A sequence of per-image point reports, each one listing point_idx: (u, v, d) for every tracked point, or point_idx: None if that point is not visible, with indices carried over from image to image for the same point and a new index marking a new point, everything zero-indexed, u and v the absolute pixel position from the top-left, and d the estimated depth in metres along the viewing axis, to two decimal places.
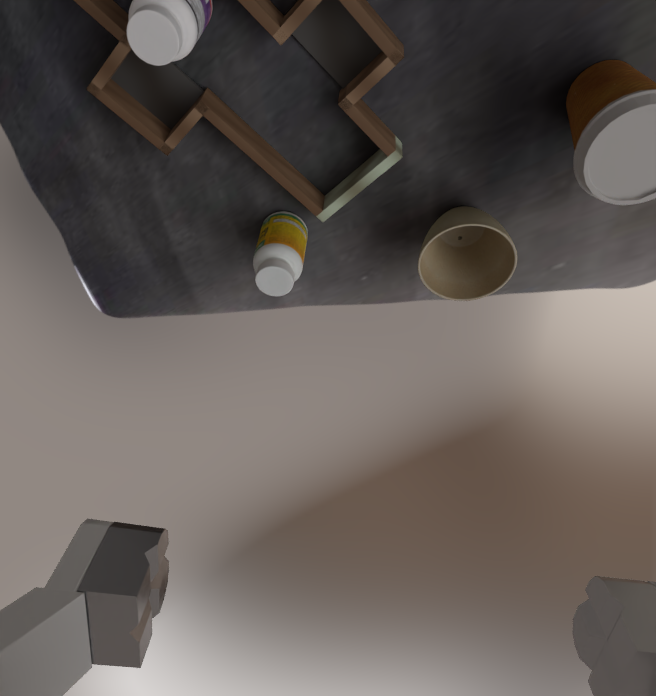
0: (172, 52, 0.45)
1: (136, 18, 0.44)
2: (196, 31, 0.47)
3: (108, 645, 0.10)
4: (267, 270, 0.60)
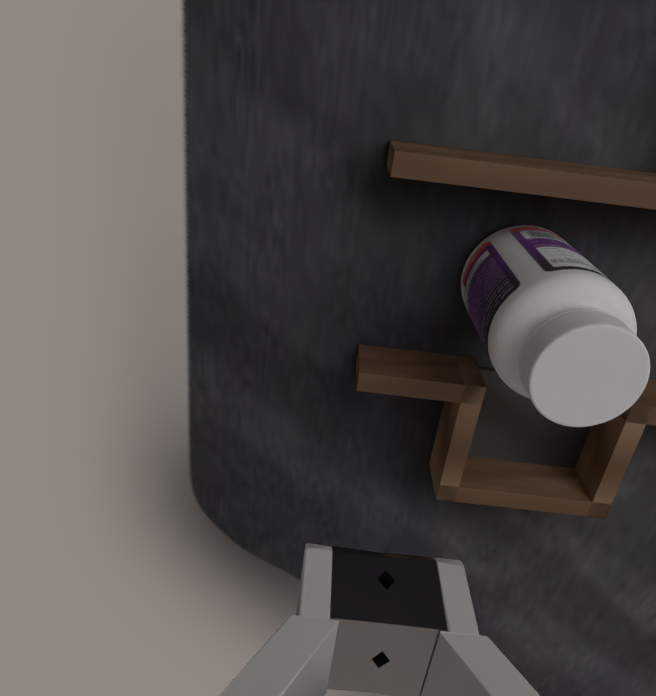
0: (639, 377, 0.19)
1: (543, 364, 0.19)
2: None
3: (346, 670, 0.10)
4: None
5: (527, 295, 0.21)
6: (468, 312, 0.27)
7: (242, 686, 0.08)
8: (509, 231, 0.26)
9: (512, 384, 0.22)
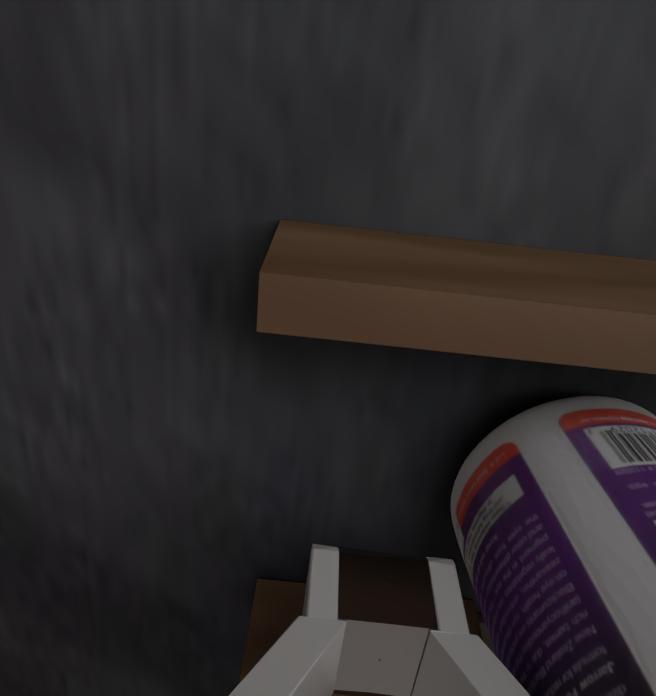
0: None
1: None
2: None
3: (353, 671, 0.10)
4: None
5: None
6: None
7: (251, 687, 0.08)
8: (559, 426, 0.12)
9: None
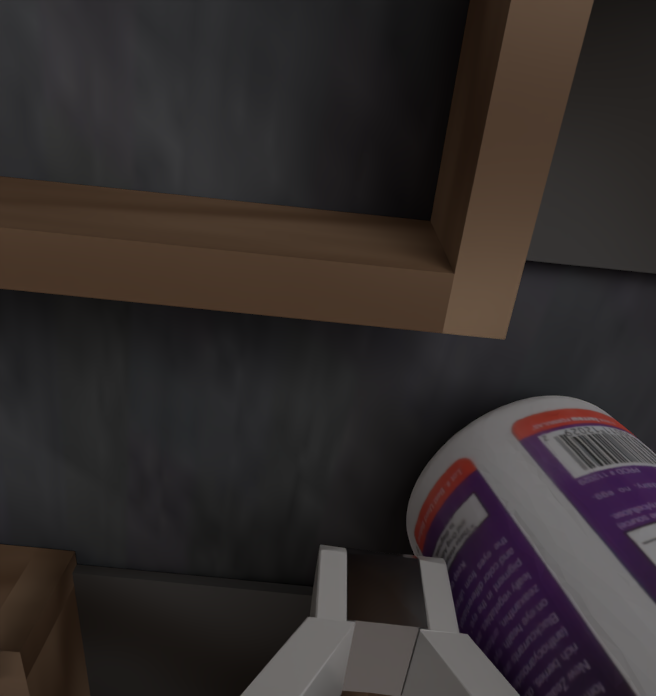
0: None
1: None
2: None
3: (361, 672, 0.10)
4: None
5: None
6: None
7: (261, 688, 0.08)
8: (513, 435, 0.11)
9: None
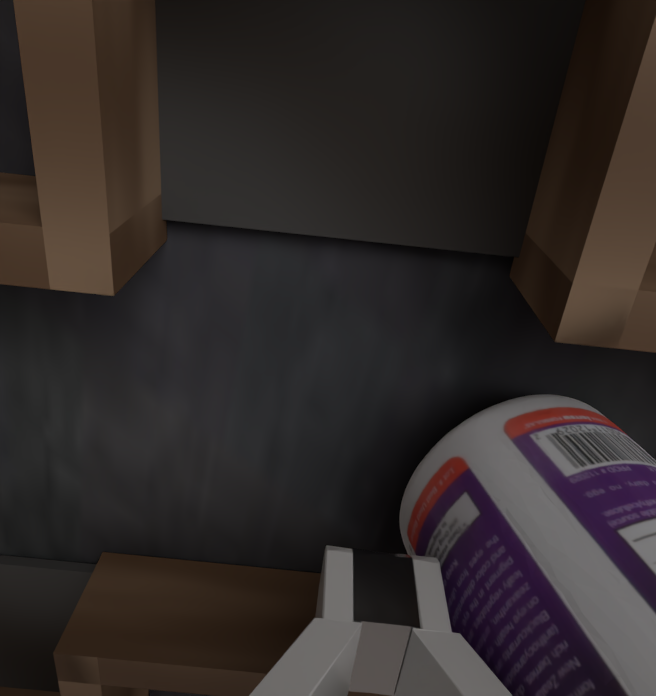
0: None
1: None
2: None
3: (368, 673, 0.10)
4: None
5: None
6: None
7: (269, 689, 0.08)
8: (505, 434, 0.11)
9: None
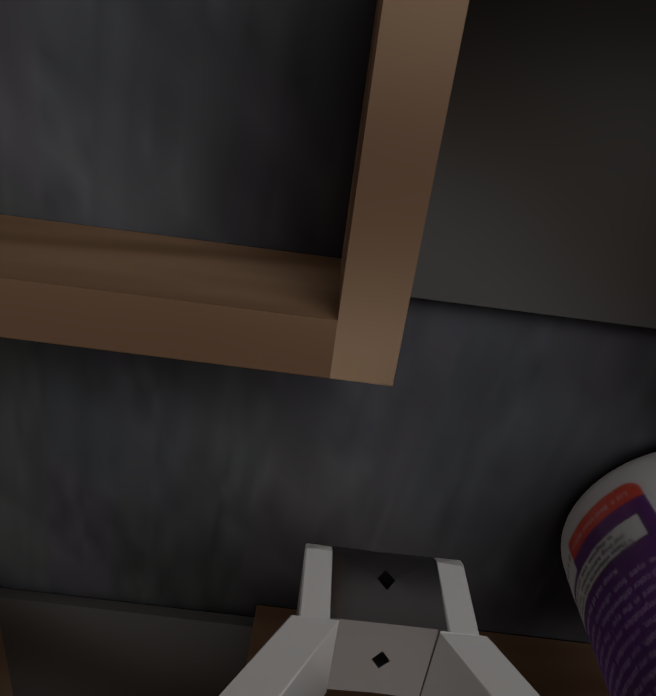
0: None
1: None
2: None
3: (346, 670, 0.10)
4: None
5: None
6: (582, 620, 0.13)
7: (242, 686, 0.08)
8: None
9: None
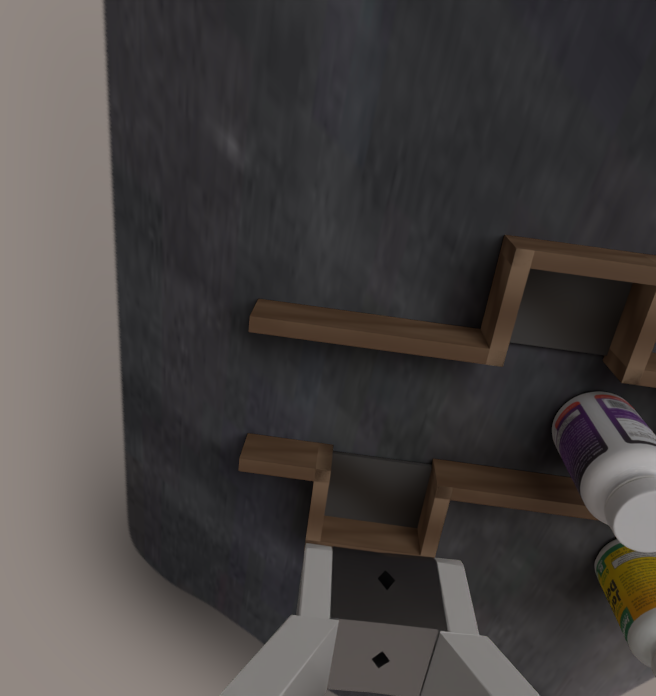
0: None
1: (625, 510, 0.30)
2: None
3: (346, 670, 0.10)
4: None
5: (614, 459, 0.32)
6: (558, 449, 0.38)
7: (242, 686, 0.08)
8: (594, 397, 0.37)
9: (595, 514, 0.33)
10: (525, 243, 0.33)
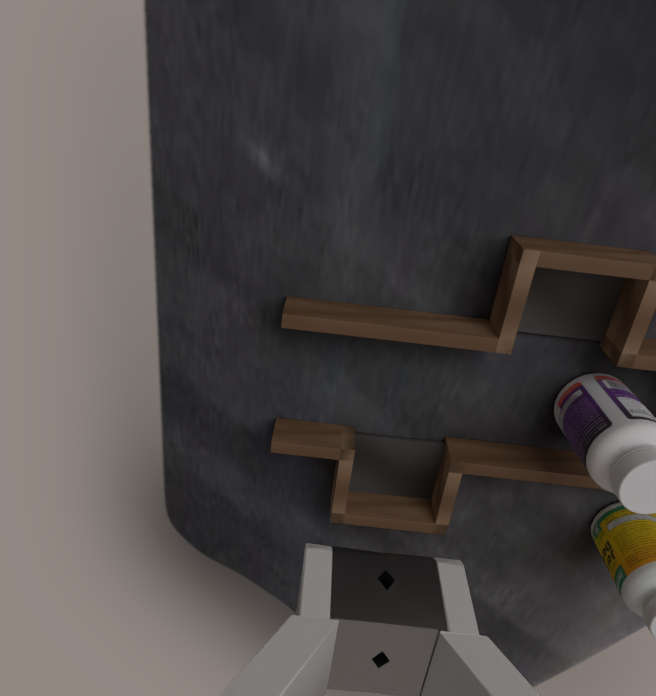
0: None
1: (630, 478, 0.34)
2: None
3: (346, 670, 0.10)
4: None
5: (618, 433, 0.36)
6: (561, 425, 0.42)
7: (242, 686, 0.08)
8: (594, 378, 0.41)
9: (599, 482, 0.37)
10: (531, 243, 0.36)
